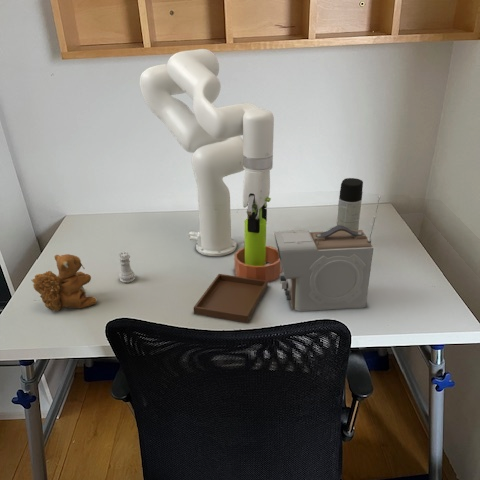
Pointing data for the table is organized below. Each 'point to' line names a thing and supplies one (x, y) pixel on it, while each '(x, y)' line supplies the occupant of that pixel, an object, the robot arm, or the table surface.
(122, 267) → the rook chess piece
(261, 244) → the soap dispenser
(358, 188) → the spray can
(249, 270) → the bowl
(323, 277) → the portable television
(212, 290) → the tray
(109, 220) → the table surface
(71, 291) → the stuffed squirrel
